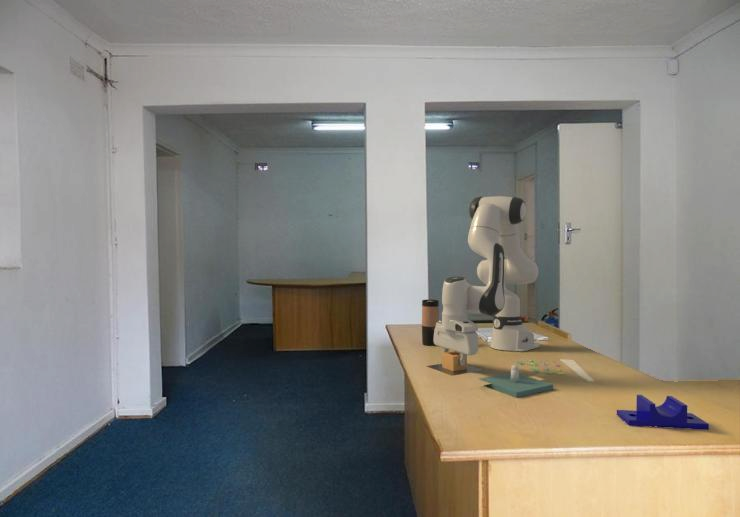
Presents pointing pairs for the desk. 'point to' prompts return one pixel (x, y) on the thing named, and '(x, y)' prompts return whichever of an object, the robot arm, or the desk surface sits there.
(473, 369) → the stand
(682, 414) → the mounting bracket
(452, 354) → the collar
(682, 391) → the desk surface
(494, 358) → the desk surface
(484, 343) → the desk surface
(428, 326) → the travel mug
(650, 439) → the desk surface
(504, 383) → the hub plate
